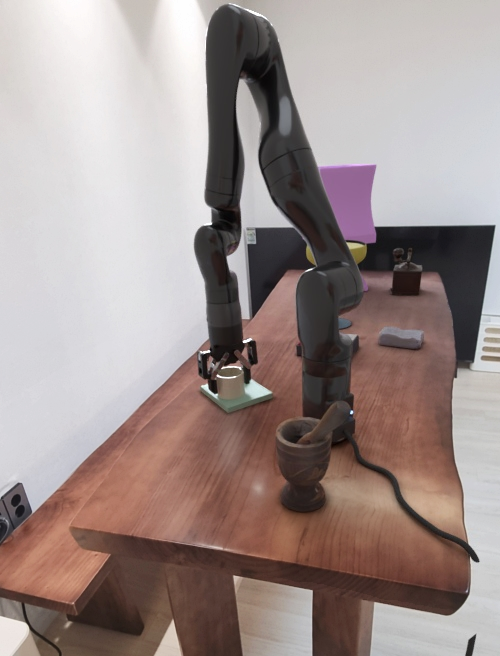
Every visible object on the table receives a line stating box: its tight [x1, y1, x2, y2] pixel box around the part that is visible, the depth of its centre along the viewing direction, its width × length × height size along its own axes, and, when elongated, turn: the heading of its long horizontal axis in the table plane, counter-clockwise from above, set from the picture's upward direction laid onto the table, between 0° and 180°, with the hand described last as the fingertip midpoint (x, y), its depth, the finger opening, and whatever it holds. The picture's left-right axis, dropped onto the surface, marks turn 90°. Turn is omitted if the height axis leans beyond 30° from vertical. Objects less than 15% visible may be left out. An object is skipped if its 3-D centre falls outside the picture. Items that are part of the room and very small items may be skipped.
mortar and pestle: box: [275, 401, 351, 513], centre depth 71 cm, size 12×9×20 cm
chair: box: [318, 163, 377, 292], centre depth 183 cm, size 22×22×45 cm
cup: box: [215, 366, 245, 400], centre depth 107 cm, size 6×6×6 cm
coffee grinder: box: [389, 247, 423, 297], centre depth 175 cm, size 16×11×18 cm
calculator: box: [295, 333, 360, 357], centre depth 131 cm, size 11×4×15 cm
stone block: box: [378, 325, 425, 350], centre depth 134 cm, size 12×5×10 cm
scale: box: [199, 378, 274, 414], centre depth 111 cm, size 14×12×3 cm
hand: (230, 387), depth 108 cm, fingers open, 8 cm apart
